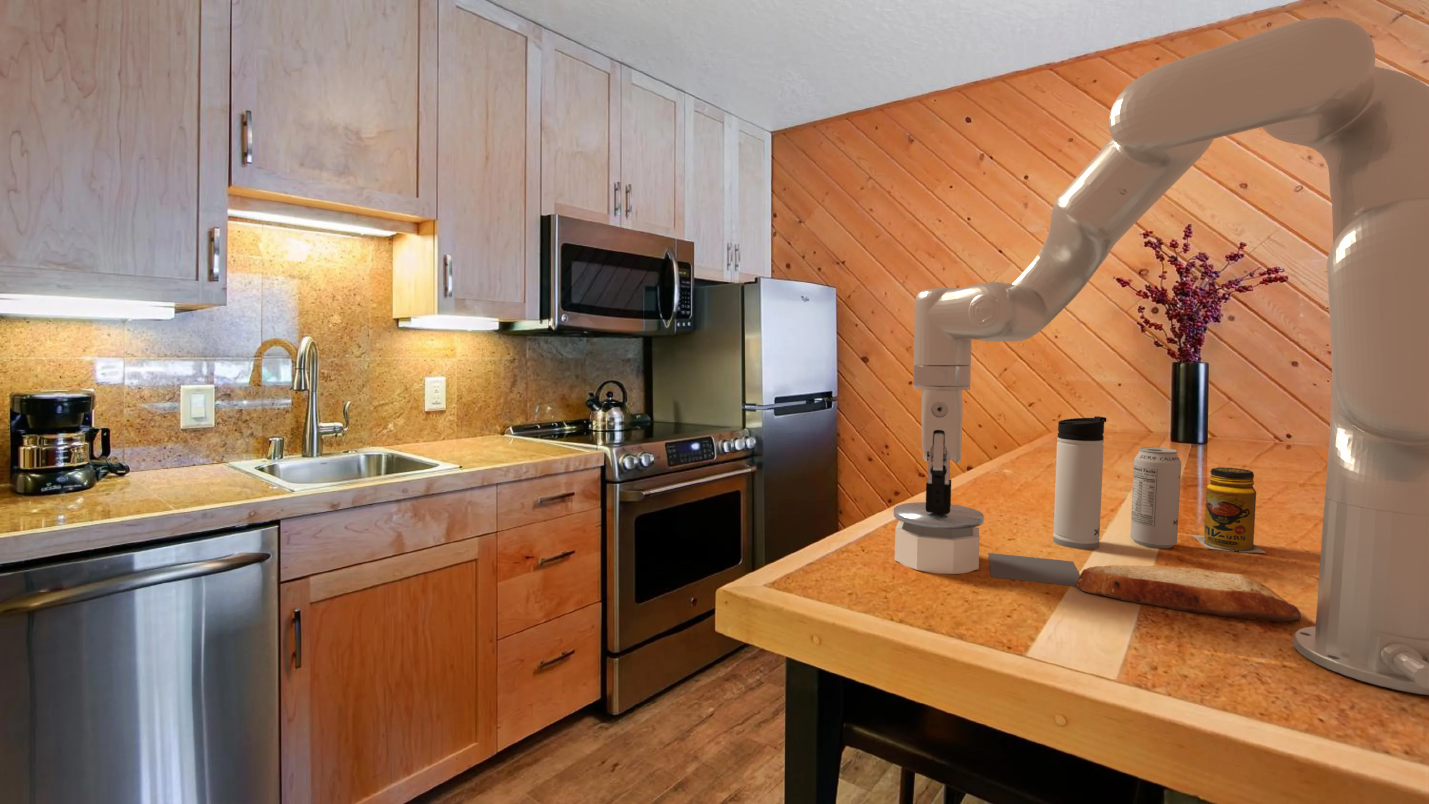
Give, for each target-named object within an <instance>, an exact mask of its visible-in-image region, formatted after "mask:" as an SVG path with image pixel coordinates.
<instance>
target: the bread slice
mask: <svg viewBox="0 0 1429 804" xmlns="http://www.w3.org/2000/svg"><path fill="white" fill-rule="evenodd" d="M1079 575H1080V577H1079V579H1078V581H1077V582H1076V585H1077V586H1078V587H1077V588H1078V589H1079V590H1080V591H1083V592H1085V593H1089V594H1093V595H1098V596H1099V595H1100V596H1103V597H1107V598H1112V599H1116V600H1119V601H1123V602H1124V601H1125V602H1132V603H1135V604H1141V605H1142V604H1143V605H1150V606H1155V607H1159V608H1160V607H1161V608H1166V609H1167V608H1168V609H1172V610H1177V611H1184V612H1192V613H1197V614H1203V615H1204V614H1205V615H1206V614H1208V615H1213V616H1218V617H1231V618H1237V619H1241V620H1242V619H1243V620H1257V621H1267V622H1271V623H1272V622H1291V621H1299V620H1301V619H1302V613H1301V611H1300V609H1298V607H1297V606H1295V605H1294V604H1292V603H1289V602H1288V601H1287V600H1286V599H1284V598H1283V597H1282V596H1280V595H1279V594H1278V593H1276V592H1275V591H1274V590H1272V589H1271V588H1269V587H1268V586H1266V585H1265V584H1263V583H1261V582H1259V581H1258V580H1256V579H1254V578H1252V577H1250V576H1248V575H1246V574H1241V573H1232V572H1230V573H1229V572H1223V571H1222V572H1220V571H1214V570H1209V569H1204V568H1192V567H1191V568H1190V567H1175V566H1168V565H1167V566H1166V565H1165V566H1164V565H1148V566H1147V565H1146V566H1145V565H1144V566H1143V565H1125V564H1123V565H1119V564H1118V565H1116V564H1112V565H1110V564H1109V565H1104V566H1102V565H1097V566H1090V567H1087V568H1085V569H1083V570H1082V571H1081V573H1080V574H1079Z"/></svg>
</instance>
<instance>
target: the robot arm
mask: <svg viewBox="0 0 1429 804" xmlns="http://www.w3.org/2000/svg"><path fill="white" fill-rule="evenodd" d="M1375 49H1376V48H1375V43H1374V41H1373V40H1372V37H1371V36H1370V33H1369V32H1368V31H1366V30H1365V28H1364V27H1362V25H1360V24H1359V23H1356V22H1354V21H1352V20H1349V19H1345V18H1343V17H1342V18H1341V17H1335V16H1333V17H1330V16H1329V17H1328V16H1325V17H1324V16H1322V17H1321V16H1320V17H1316V18H1308V19H1307V18H1306V19H1301V20H1298V21H1295V22H1291V23H1288V24H1285V25H1281V26H1279V27H1275V28H1271V29H1268V30H1266V31H1263V32H1259V33H1257V34H1252V35H1251V36H1247V37H1245V38H1242V39H1239V40H1235V41H1231V42H1229V43H1227V44H1223V45H1220V46H1217V47H1214V48H1211V49H1207V50H1205V51H1201V52H1199V53H1195V54H1191V55H1190V56H1187V57H1184V58H1180V59H1178V60H1175V61H1172V62H1169V63H1167V64H1164V65H1161V66H1159V67H1157V68H1155V69H1152V70H1150V71H1148V72H1146V73H1143V74H1142V75H1141V76H1139V77H1137V78H1136V79H1135V80H1133V81H1132V82H1131V83H1129V84H1128V85H1127V86H1126V87H1125V88H1124V89H1123V90H1122V91H1121V92H1120V93H1119V95H1118V96H1117V98H1116V99H1115V101H1114V103H1113V105H1112V107H1111V108H1110V112H1109V115H1108V116H1109V117H1108V131H1109V133H1110V136H1111V137H1110V139H1109V140H1108V141H1107V142H1106V143H1105V144H1104V145H1103V147H1102V148H1101V149H1100V150H1099V152H1097V154H1096V155H1095V156H1094V157H1093V158H1092V160H1090V162H1089V163H1087V165H1086V166H1085V167H1084V168H1083V169H1082V170H1081V172H1080V173H1079V174H1078V175H1077V176H1076V177H1075V178H1074V179H1073V180H1072V182H1070V183H1069V184H1068V185H1067V187H1066V188H1065V189H1064V190H1063V191H1062V192H1061V193H1060V194H1059V196H1058V197H1056V200H1055V201H1054V204H1053V207H1052V211H1051V215H1050V223H1049V224H1050V225H1049V231H1048V234H1047V236H1046V237H1047V238H1046V239H1045V241H1044V244H1043V246H1042V247H1041V249H1040V250H1039V252H1038V253H1037V254H1036V256H1035V258H1034V259H1033V260H1032V262H1031V263H1030V264H1029V265H1028V266H1027V267H1026V268H1025V270H1023V271H1022V273H1021V274H1020V275H1018V277H1017V278H1016V279H1015V280H1014V281H1013V282H1012V283H1005V282H1003V281H1002V282H1001V281H988V282H981V283H979V284H978V283H977V284H972V285H968V286H965V287H964V286H963V287H938V288H937V287H935V288H928V289H923V290H921V291H920V292H918V293H917V295H916V297H915V299H914V301H915V302H914V328H913V329H914V330H913V332H914V333H913V374H912V375H913V379H912V381H913V382H912V384H913V385H912V389H913V390H921V415H920V416H921V419H920V420H921V423H920V425H921V446H922V449H921V450H922V460H924V462H926V463H927V466H928V467H927V482H926V484H925V486H926V487H925V502H926V511H927V512H932V513H945V514H948V513H950V506H951V504H952V503H951V501H952V479H950V478H951V474H950V473H951V461H955V465H956V464H959V463H960V462H961V461H962V448H963V447H962V446H963V445H962V443H963V442H962V441H963V438H962V437H963V410H964V409H963V406H964V405H963V391H968V390H969V391H970V390H971V377H972V375H971V374H972V372H971V371H972V366H971V365H972V341H973V340H976V341H982V342H983V341H984V342H995V343H996V342H999V343H1000V342H1001V343H1003V342H1010V343H1011V342H1012V343H1013V342H1014V343H1015V342H1022V341H1025V340H1028V339H1031V338H1032V337H1034V336H1035V335H1037V334H1038V333H1040V332H1041V331H1043V329H1045V328H1046V326H1048V325H1049V324H1050V323H1051V322H1052V321H1053V320H1054V319H1055V318H1056V317H1057V316H1058V315H1059V314H1060V313H1061V312H1062V311H1063V310H1064V309H1065V308H1066V307H1067V306H1068V305H1069V304H1070V303H1071V302H1072V301H1073V300H1074V299H1075V298H1076V297H1077V295H1079V294H1080V292H1081V291H1082V290H1083V289H1084V288H1085V286H1086V285H1087V284H1088V282H1089V281H1090V280H1091V279H1092V277H1093V276H1094V275H1095V273H1096V272H1097V271H1098V269H1099V268H1100V266H1102V263H1103V262H1105V260H1106V259H1107V258H1108V256H1109V254H1110V252H1111V251H1112V250H1113V248H1114V246H1115V245H1116V243H1117V242H1119V241H1120V240H1121V238H1122V237H1123V236H1125V234H1126V233H1127V232H1129V230H1130V229H1131V228H1132V227H1133V226H1134V225H1136V223H1137V222H1138V221H1139V220H1140V219H1141V218H1142V217H1143V216H1144V215H1145V214H1146V213H1147V212H1148V211H1149V210H1150V209H1151V207H1153V206H1154V205H1155V204H1156V203H1157V202H1158V201H1159V200H1160V199H1161V198H1162V196H1164V195H1165V194H1166V193H1167V191H1168V190H1170V189H1171V188H1172V187H1173V186H1174V185H1175V184H1176V183H1177V182H1178V181H1179V180H1180V179H1181V178H1182V177H1183V176H1184V174H1186V173H1187V171H1188V170H1190V168H1191V167H1192V166H1194V164H1195V163H1197V161H1198V160H1199V159H1200V158H1201V157H1202V156H1203V155H1204V154H1205V153H1206V152H1207V150H1208V149H1209V148H1210V146H1211V145H1212V144H1213V141H1214V140H1215V139H1219V138H1222V137H1227V136H1230V135H1235V134H1240V133H1243V132H1247V131H1251V130H1255V129H1258V128H1259V129H1260V128H1262V129H1263V130H1264V131H1265V132H1266V133H1267V134H1268V135H1269V136H1271V137H1272V138H1275V139H1276V140H1279V141H1280V142H1281V141H1282V142H1285V143H1289V144H1292V145H1297V146H1304V147H1307V148H1310V149H1312V150H1314V151H1316V152H1317V153H1318V154H1320V155H1321V157H1322V158H1324V160H1325V163H1326V165H1327V168H1328V177H1329V178H1328V179H1329V180H1328V181H1329V194H1330V199H1331V200H1330V201H1331V215H1332V246H1331V247H1330V250H1329V252H1328V256H1327V260H1326V272H1327V274H1326V276H1327V290H1328V309H1329V311H1328V312H1329V313H1328V314H1329V332H1330V334H1329V335H1330V350H1331V352H1330V353H1331V374H1332V376H1331V377H1332V378H1331V387H1330V388H1331V389H1330V421H1329V438H1328V440H1329V442H1328V453H1327V455H1328V456H1327V465H1326V467H1327V469H1326V478H1325V479H1326V481H1325V492H1324V493H1325V494H1324V505H1323V515H1322V530H1321V543H1320V544H1321V545H1320V559H1319V573H1318V586H1317V599H1316V600H1317V601H1316V615H1315V626H1307V627H1303V628H1300V629H1298V630H1296V631H1295V632H1294V634H1293V646H1294V648H1295V649H1296V650H1297V651H1298V653H1300V655H1302V656H1304V657H1305V658H1307V659H1308V660H1310V661H1311V662H1313V663H1315V664H1316V665H1319V666H1321V667H1323V668H1325V669H1327V670H1330V671H1332V672H1334V673H1338V674H1340V675H1343V676H1345V677H1349V678H1352V679H1354V680H1358V681H1360V682H1364V683H1368V684H1371V685H1375V686H1379V687H1383V688H1386V689H1387V688H1388V689H1389V690H1390V689H1391V690H1396V691H1401V692H1405V693H1409V694H1410V693H1411V694H1417V695H1424V696H1429V85H1427V84H1425V82H1422V81H1420V80H1418V79H1417V78H1415V77H1413V76H1411V75H1408V74H1406V73H1402V72H1400V71H1396V70H1392V69H1389V68H1384V67H1379V66H1375V65H1376V52H1375Z"/></svg>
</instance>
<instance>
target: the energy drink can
mask: <svg viewBox="0 0 1429 804" xmlns="http://www.w3.org/2000/svg"><path fill="white" fill-rule="evenodd" d="M1138 450H1139V451H1138V453H1137V454H1136V456H1135V457H1134V460H1133V472H1132V473H1133V474H1132V475H1133V476H1132V494H1131V497H1132V498H1131V513H1130V515H1131V517H1130V536H1129V537H1130V539H1131V540H1133V542H1134V543H1135V544H1137V545H1140V546H1143V547H1149V548H1155V549H1171V548H1173V547H1174V546H1175V545H1177V544H1178V532H1179V531H1178V530H1179V528H1178V527H1179V515H1180V514H1179V513H1180V512H1179V511H1180V495H1181V477H1182V461H1181V459H1180V457H1179V456H1178V450H1176V449H1173V448H1165V447H1150V446H1149V447H1145V446H1143V447H1140V448H1139V449H1138Z"/></svg>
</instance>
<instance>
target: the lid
mask: <svg viewBox="0 0 1429 804" xmlns="http://www.w3.org/2000/svg"><path fill="white" fill-rule="evenodd" d="M893 517H894V518H895V519H896V520H898V521H903V522H905V523H909V524H913V525H917V526H923V527H930V528H941V529H964V528H972V527H976V528H978V527H979V526H981V525H983V524H984V521H985V515H984V513H982V512H981V511H980V510H977V509H974V508H972V507H968V506H965V505H958V504H953V503H951V506H950V513H948V514H945V513H932V512H927V511H926V501H920V502H917V501H916V502H908V503H901V504H898V505H896V506H894V508H893Z"/></svg>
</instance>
